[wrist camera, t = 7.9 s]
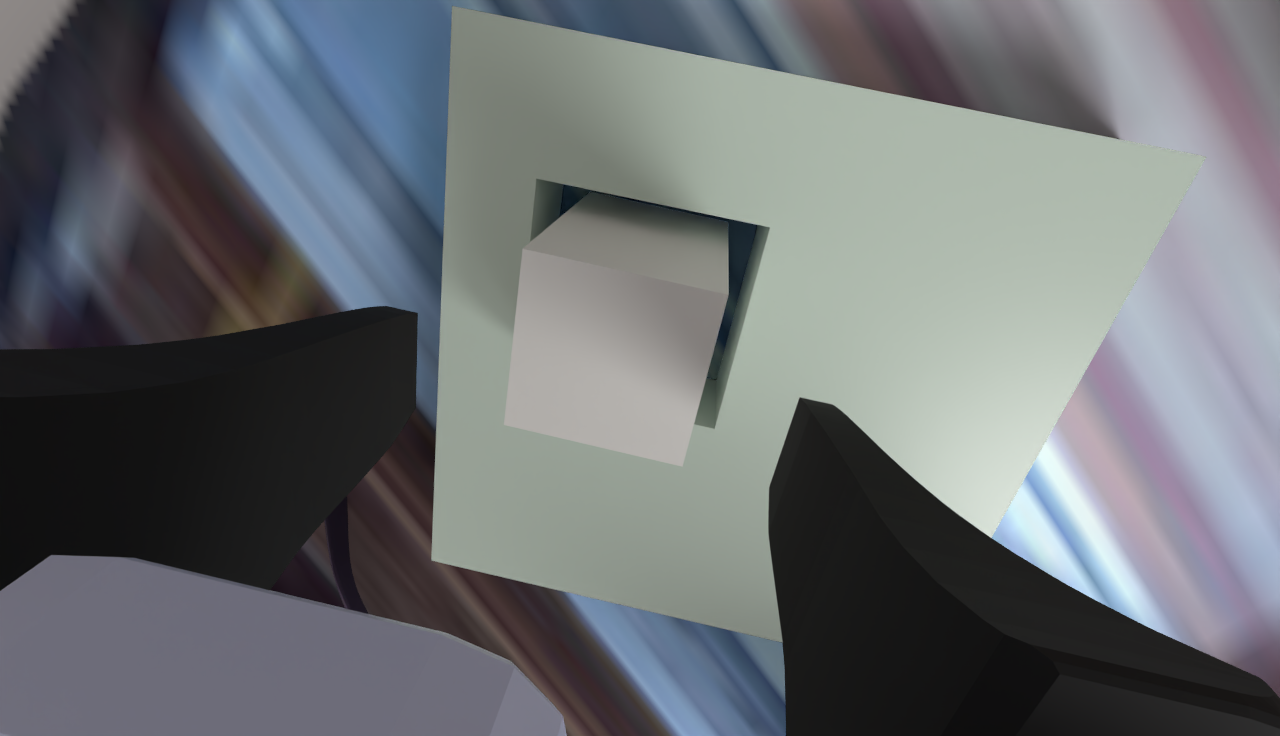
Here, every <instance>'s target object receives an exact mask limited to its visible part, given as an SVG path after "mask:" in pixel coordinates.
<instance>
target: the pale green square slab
mask: <svg viewBox="0 0 1280 736" xmlns="http://www.w3.org/2000/svg"><path fill="white" fill-rule="evenodd" d="M1205 158H1206V157H1205V156H1200V155H1195V154H1190V153H1185V152H1180V151H1175V150H1170V149H1165V148H1160V147H1155V146H1150V145H1145V144H1140V143H1135V142H1130V141H1125V140H1120V139H1115V138H1110V137H1105V136H1100V135H1095V134H1090V133H1085V132H1080V131H1075V130H1070V129H1065V128H1060V127H1055V126H1050V125H1045V124H1040V123H1035V122H1030V121H1025V120H1020V119H1015V118H1010V117H1005V116H1000V115H995V114H990V113H985V112H980V111H975V110H970V109H965V108H960V107H955V106H950V105H945V104H940V103H935V102H930V101H925V100H920V99H915V98H910V97H905V96H900V95H895V94H890V93H885V92H880V91H875V90H870V89H865V88H860V87H855V86H850V85H845V84H840V83H835V82H830V81H825V80H820V79H815V78H810V77H805V76H800V75H795V74H790V73H785V72H780V71H775V70H770V69H765V68H760V67H755V66H750V65H745V64H740V63H735V62H730V61H725V60H720V59H715V58H710V57H705V56H700V55H695V54H690V53H685V52H680V51H675V50H670V49H665V48H660V47H655V46H650V45H645V44H640V43H635V42H630V41H625V40H620V39H615V38H610V37H605V36H600V35H595V34H590V33H585V32H580V31H575V30H570V29H565V28H560V27H555V26H550V25H545V24H540V23H535V22H530V21H525V20H520V19H515V18H510V17H505V16H500V15H495V14H490V13H485V12H480V11H475V10H470V9H465V8H460V7H455V6H452V22H451V49H450V75H449V102H448V129H447V156H446V183H445V210H444V237H443V263H442V290H441V317H440V344H439V371H438V398H437V425H436V451H435V478H434V505H433V532H432V559H431V560H432V561H436V562H440V563H444V564H449V565H453V566H457V567H462V568H466V569H470V570H474V571H479V572H483V573H487V574H491V575H496V576H500V577H504V578H509V579H513V580H517V581H521V582H526V583H530V584H534V585H538V586H543V587H547V588H551V589H556V590H560V591H564V592H568V593H573V594H577V595H581V596H585V597H590V598H594V599H598V600H603V601H607V602H611V603H615V604H620V605H624V606H628V607H632V608H637V609H641V610H645V611H649V612H654V613H658V614H662V615H667V616H671V617H675V618H679V619H684V620H688V621H692V622H696V623H701V624H705V625H709V626H714V627H718V628H722V629H726V630H731V631H735V632H739V633H743V634H748V635H752V636H756V637H761V638H765V639H769V640H773V641H778V642H782V643H783V641H782V634H781V626H780V619H779V612H778V604H777V597H776V589H775V582H774V575H773V567H772V559H771V551H770V543H769V535H768V509H769V486H770V483H771V480H772V477H773V474H774V472H775V469H776V466H777V463H778V460H779V457H780V454H781V451H782V448H783V445H784V442H785V439H786V436H787V433H788V430H789V427H790V424H791V421H792V418H793V415H794V412H795V409H796V406H797V403H798V400H799V398H800V397H801V398H805V399H810V400H815V401H819V402H824V403H828V404H833V405H834V406H836V407H837V408H839V409H840V410H841V411H842V412H843V413H844V414H846V415H847V416H848V417H849V418H850V419H851V420H852V421H853V422H854V423H855V424H856V425H857V426H858V427H859V428H861V429H862V430H863V431H864V432H865V433H866V434H867V435H868V436H869V437H870V438H871V439H872V440H873V441H874V442H875V443H876V444H877V445H878V446H879V447H880V448H881V449H882V450H883V451H884V452H885V453H887V454H888V455H889V456H890V457H891V458H892V459H893V460H894V461H895V462H896V463H897V464H898V465H899V466H901V467H902V468H903V469H904V470H905V471H906V472H907V473H908V474H909V475H911V476H912V477H913V478H914V479H915V480H916V481H918V482H919V483H920V484H921V485H922V486H923V487H925V488H926V489H927V490H928V491H929V492H931V493H932V494H933V495H934V496H935V497H937V498H938V499H939V500H940V501H941V502H943V503H944V504H945V505H947V506H948V507H949V508H950V509H952V510H953V511H954V512H956V513H957V514H958V515H960V516H961V517H962V518H964V519H965V520H967V521H968V522H969V523H971V524H972V525H974V526H975V527H976V528H978V529H979V530H981V531H982V532H983V533H985V534H986V535H988V536H989V537H990V538H991V537H992V536H993V534H994V532H995V530H996V529H997V527H998V525H999V523H1000V522H1001V520H1002V518H1003V516H1004V514H1005V513H1006V511H1007V509H1008V507H1009V506H1010V504H1011V502H1012V500H1013V498H1014V497H1015V495H1016V493H1017V491H1018V490H1019V488H1020V486H1021V484H1022V483H1023V481H1024V479H1025V477H1026V475H1027V474H1028V472H1029V470H1030V468H1031V467H1032V465H1033V463H1034V461H1035V460H1036V458H1037V456H1038V454H1039V452H1040V451H1041V449H1042V447H1043V445H1044V444H1045V442H1046V440H1047V438H1048V436H1049V435H1050V433H1051V431H1052V429H1053V428H1054V426H1055V424H1056V422H1057V421H1058V419H1059V417H1060V415H1061V413H1062V412H1063V410H1064V408H1065V406H1066V405H1067V403H1068V401H1069V399H1070V398H1071V396H1072V394H1073V392H1074V390H1075V389H1076V387H1077V385H1078V383H1079V382H1080V380H1081V378H1082V376H1083V374H1084V373H1085V371H1086V369H1087V367H1088V366H1089V364H1090V362H1091V360H1092V359H1093V357H1094V355H1095V353H1096V351H1097V350H1098V348H1099V346H1100V344H1101V343H1102V341H1103V339H1104V337H1105V336H1106V334H1107V332H1108V330H1109V328H1110V327H1111V325H1112V323H1113V321H1114V320H1115V318H1116V316H1117V314H1118V312H1119V311H1120V309H1121V307H1122V305H1123V304H1124V302H1125V300H1126V298H1127V297H1128V295H1129V293H1130V291H1131V289H1132V288H1133V286H1134V284H1135V282H1136V281H1137V279H1138V277H1139V275H1140V274H1141V272H1142V270H1143V268H1144V266H1145V265H1146V263H1147V261H1148V259H1149V258H1150V256H1151V254H1152V252H1153V250H1154V249H1155V247H1156V245H1157V243H1158V242H1159V240H1160V238H1161V236H1162V235H1163V233H1164V231H1165V229H1166V227H1167V226H1168V224H1169V222H1170V220H1171V219H1172V217H1173V215H1174V213H1175V212H1176V210H1177V208H1178V206H1179V204H1180V203H1181V201H1182V199H1183V197H1184V196H1185V194H1186V192H1187V190H1188V188H1189V187H1190V185H1191V183H1192V181H1193V180H1194V178H1195V176H1196V174H1197V173H1198V171H1199V169H1200V167H1201V165H1202V164H1203V162H1204V160H1205ZM564 184H565V185H570V186H575V187H579V188H584V189H589V190H594V191H599V192H603V193H608V194H613V195H618V196H622V197H627V198H632V199H637V200H641V201H646V202H651V203H656V204H661V205H665V206H670V207H675V208H680V209H684V210H689V211H694V212H699V213H704V214H708V215H713V216H718V217H723V218H727V219H732V220H737V221H742V222H746V223H751V224H756V225H757V229H756V233H755V237H754V241H753V244H752V248H751V252H750V256H749V259H748V263H747V267H746V271H745V274H744V278H743V282H742V286H741V289H740V293H739V297H738V301H737V305H736V308H735V312H734V316H733V320H732V323H731V327H730V331H729V335H728V338H727V342H726V346H725V350H724V353H723V357H722V361H721V365H720V369H719V372H718V376H717V380H713V379H708V378H706V381H705V385H704V389H703V392H702V396H701V400H700V404H699V407H698V411H697V415H696V418H695V422H694V426H693V430H692V433H691V437H690V441H689V445H688V448H687V452H686V456H685V459H684V463H683V467H682V466H677V465H673V464H669V463H665V462H660V461H656V460H652V459H647V458H643V457H639V456H635V455H630V454H626V453H622V452H618V451H613V450H609V449H605V448H600V447H596V446H592V445H588V444H583V443H579V442H575V441H571V440H566V439H562V438H558V437H553V436H549V435H545V434H541V433H536V432H532V431H528V430H524V429H519V428H515V427H511V426H506V425H504V418H505V409H506V399H507V390H508V381H509V371H510V362H511V353H512V343H513V334H514V324H515V315H516V306H517V296H518V287H519V277H520V268H521V259H522V249H523V248H524V247H525V246H526V245H527V244H529V243H530V242H531V241H532V240H533V239H535V238H536V237H537V236H538V235H539V234H541V233H542V232H543V231H544V230H545V229H546V228H548V227H549V226H550V225H551V224H552V223H554V222H555V221H556V220H557V219H558V218H560V209H561V201H562V193H563V185H564Z"/></svg>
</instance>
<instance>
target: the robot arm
mask: <svg viewBox="0 0 1280 736" xmlns="http://www.w3.org/2000/svg"><path fill="white" fill-rule="evenodd" d="M417 320H418V313H415V312H410V311H406V310H401V309H397V308H392V307H388V306H379V307H368V308H361V309H355V310H350V311H345V312H339V313H334V314H329V315H325V316H320V317H315V318H310V319H305V320H300V321H296V322H291V323H286V324H281V325H275V326H270V327H264V328H259V329H253V330H247V331H242V332H236V333H230V334H225V335H219V336H212V337H205V338H197V339H190V340H181V341H172V342H162V343H152V344H141V345H128V346H107V347H87V348H67V349H11V350H0V736H567V735H566V730H565V725H564V720H563V716H562V715H561V713H560V712H559V711H558V710H557V709H556V707H555V706H554V705H553V704H552V703H551V702H550V701H549V700H548V699H547V698H546V697H545V696H544V695H543V693H542V692H541V691H540V690H539V689H538V688H537V687H536V686H535V685H534V684H533V683H532V682H531V681H530V680H529V679H528V678H527V677H526V676H525V675H524V674H523V673H522V672H521V671H520V670H519V669H518V668H517V667H516V666H515V665H514V664H513V663H512V662H511V661H510V660H507V659H505V658H503V657H500V656H498V655H496V654H494V653H491V652H489V651H487V650H484V649H482V648H480V647H478V646H475V645H473V644H471V643H468V642H466V641H464V640H462V639H459V638H457V637H455V636H452V635H450V634H448V633H445V632H441V631H436V630H432V629H428V628H424V627H420V626H416V625H411V624H407V623H403V622H399V621H395V620H391V619H386V618H382V617H378V616H374V615H370V614H366V613H362V612H357V611H353V610H349V609H345V608H341V607H337V606H332V605H328V604H324V603H320V602H316V601H312V600H307V599H303V598H299V597H295V596H291V595H287V594H283V593H278V592H274V591H270V589H271V588H272V586H273V585H274V584H275V582H276V581H277V579H278V578H279V577H280V575H281V574H282V573H283V571H284V570H285V568H286V567H287V566H288V564H289V563H290V561H291V560H292V559H293V557H294V556H295V555H296V553H297V552H298V551H299V549H300V548H301V547H302V546H303V545H304V543H305V542H306V541H307V540H308V538H309V537H310V536H311V535H312V534H313V532H314V531H315V530H316V529H317V528H318V527H319V526H320V525H321V523H322V522H323V521H324V520H325V519H326V518H327V517H328V516H329V515H330V514H331V512H332V511H333V510H334V509H335V508H336V507H337V506H338V505H339V504H340V503H341V501H342V500H343V499H344V498H345V497H346V496H347V495H348V494H349V493H350V492H351V490H352V489H353V488H354V487H355V486H356V485H357V484H358V483H359V482H360V481H361V479H362V478H363V477H364V476H365V475H366V474H367V473H368V472H369V470H370V469H371V468H372V467H373V466H374V465H375V464H376V463H377V461H378V460H379V459H380V458H381V457H382V456H383V455H384V453H385V452H386V451H387V450H388V449H389V448H390V446H391V445H392V444H393V442H394V441H395V439H396V438H397V436H398V435H399V433H400V432H401V430H402V429H403V427H404V426H405V424H406V422H407V421H408V419H409V417H410V416H411V414H412V413H413V411H414V409H415V408H416V369H417ZM768 535H769V543H770V551H771V559H772V567H773V575H774V582H775V589H776V597H777V604H778V612H779V619H780V626H781V634H782V641H783V653H784V664H785V699H786V736H1280V698H1279V697H1278V696H1277V694H1276V693H1275V692H1274V691H1273V690H1272V689H1271V688H1270V687H1269V686H1268V684H1267V683H1265V682H1264V681H1263V680H1262V679H1260V678H1259V677H1257V676H1255V675H1252V674H1250V673H1248V672H1246V671H1243V670H1241V669H1239V668H1237V667H1235V666H1232V665H1230V664H1228V663H1226V662H1223V661H1221V660H1219V659H1217V658H1214V657H1212V656H1210V655H1208V654H1206V653H1203V652H1201V651H1199V650H1197V649H1194V648H1192V647H1190V646H1188V645H1186V644H1183V643H1181V642H1179V641H1177V640H1174V639H1172V638H1170V637H1168V636H1166V635H1163V634H1161V633H1159V632H1157V631H1155V630H1153V629H1150V628H1148V627H1146V626H1144V625H1142V624H1140V623H1138V622H1136V621H1134V620H1133V619H1131V618H1129V617H1127V616H1125V615H1123V614H1121V613H1119V612H1117V611H1115V610H1113V609H1111V608H1109V607H1107V606H1105V605H1103V604H1101V603H1099V602H1098V601H1096V600H1094V599H1092V598H1090V597H1088V596H1086V595H1084V594H1083V593H1081V592H1079V591H1077V590H1075V589H1074V588H1072V587H1070V586H1068V585H1066V584H1065V583H1063V582H1061V581H1059V580H1058V579H1056V578H1054V577H1053V576H1051V575H1049V574H1048V573H1046V572H1044V571H1043V570H1041V569H1039V568H1038V567H1036V566H1034V565H1033V564H1031V563H1029V562H1028V561H1026V560H1025V559H1023V558H1021V557H1020V556H1018V555H1016V554H1015V553H1013V552H1012V551H1010V550H1009V549H1007V548H1005V547H1004V546H1002V545H1001V544H999V543H998V542H996V541H995V540H993V539H992V538H990V537H989V536H988V535H986V534H985V533H983V532H982V531H981V530H979V529H978V528H976V527H975V526H974V525H972V524H971V523H969V522H968V521H967V520H965V519H964V518H962V517H961V516H960V515H958V514H957V513H956V512H954V511H953V510H952V509H950V508H949V507H948V506H947V505H945V504H944V503H943V502H941V501H940V500H939V499H938V498H937V497H935V496H934V495H933V494H932V493H931V492H929V491H928V490H927V489H926V488H925V487H923V486H922V485H921V484H920V483H919V482H918V481H916V480H915V479H914V478H913V477H912V476H911V475H909V474H908V473H907V472H906V471H905V470H904V469H903V468H902V467H901V466H899V465H898V464H897V463H896V462H895V461H894V460H893V459H892V458H891V457H890V456H889V455H888V454H887V453H885V452H884V451H883V450H882V449H881V448H880V447H879V446H878V445H877V444H876V443H875V442H874V441H873V440H872V439H871V438H870V437H869V436H868V435H867V434H866V433H865V432H864V431H863V430H862V429H861V428H859V427H858V426H857V425H856V424H855V423H854V422H853V421H852V420H851V419H850V418H849V417H848V416H847V415H846V414H844V413H843V412H842V411H841V410H840V409H839V408H837V407H836V406H834V405H833V404H828V403H824V402H819V401H815V400H810V399H805V398H801V397H800V398H799V400H798V403H797V406H796V409H795V412H794V415H793V418H792V421H791V424H790V427H789V430H788V433H787V436H786V439H785V442H784V445H783V448H782V451H781V454H780V457H779V460H778V463H777V466H776V469H775V472H774V474H773V477H772V480H771V483H770V486H769V509H768Z"/></svg>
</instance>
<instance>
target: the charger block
mask: <svg viewBox="0 0 1280 736" xmlns="http://www.w3.org/2000/svg"><path fill="white" fill-rule="evenodd" d="M728 296H729V257H728V222H727V221H722V220H718V219H713V218H709V217H704V216H700V215H695V214H690V213H686V212H681V211H677V210H672V209H668V208H663V207H659V206H654V205H650V204H645V203H640V202H636V201H631V200H627V199H622V198H618V197H613V196H609V195H604V194H600V193H595V192H589V193H588V194H587V195H586V196H585V197H583V198H582V199H581V200H580V201H579V202H577V203H576V204H575V205H574V206H573V207H571V208H570V209H569V210H568V211H567V212H566V213H564V214H563V215H562V216H561V217H560V218H558V219H557V220H556V221H555V222H554V223H552V224H551V225H550V226H549V227H548V228H546V229H545V230H544V231H543V232H542V233H541V234H539V235H538V236H537V237H536V238H535V239H533V240H532V241H531V242H530V243H529V244H527V245H526V246H525V247H524V248H523V249H522V259H521V268H520V277H519V287H518V296H517V306H516V315H515V324H514V334H513V343H512V353H511V362H510V371H509V381H508V390H507V399H506V409H505V418H504V425H506V426H511V427H515V428H519V429H524V430H528V431H532V432H536V433H541V434H545V435H549V436H553V437H558V438H562V439H566V440H571V441H575V442H579V443H583V444H588V445H592V446H596V447H600V448H605V449H609V450H613V451H618V452H622V453H626V454H630V455H635V456H639V457H643V458H647V459H652V460H656V461H660V462H665V463H669V464H673V465H677V466H682V467H683V463H684V459H685V456H686V452H687V448H688V445H689V441H690V437H691V433H692V430H693V426H694V422H695V418H696V415H697V411H698V407H699V404H700V400H701V396H702V392H703V389H704V385H705V381H706V377H707V374H708V370H709V366H710V363H711V359H712V355H713V351H714V348H715V344H716V340H717V337H718V333H719V329H720V325H721V322H722V318H723V314H724V310H725V307H726V303H727V299H728Z"/></svg>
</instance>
